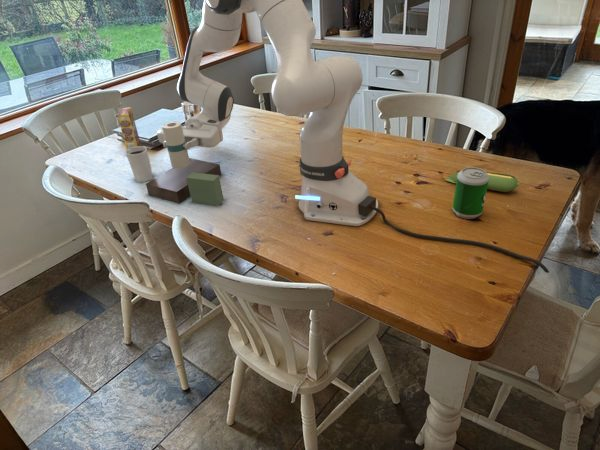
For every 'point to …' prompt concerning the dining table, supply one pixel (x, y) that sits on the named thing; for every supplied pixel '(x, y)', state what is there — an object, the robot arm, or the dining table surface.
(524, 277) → the dining table surface
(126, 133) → the candy box
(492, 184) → the edible corn
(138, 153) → the white cup
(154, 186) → the chopping block
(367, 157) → the dining table surface
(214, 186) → the green block
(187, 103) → the beer glass
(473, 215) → the soda can
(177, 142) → the paper roll
